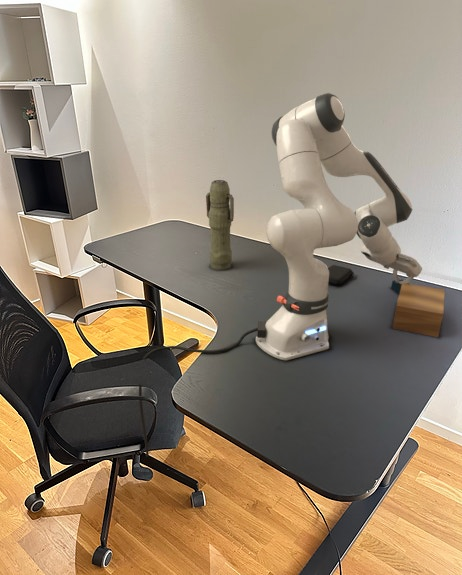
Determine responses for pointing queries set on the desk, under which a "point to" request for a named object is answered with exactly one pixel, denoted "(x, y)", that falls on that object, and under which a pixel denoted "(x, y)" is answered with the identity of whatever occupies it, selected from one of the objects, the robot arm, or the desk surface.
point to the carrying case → (339, 274)
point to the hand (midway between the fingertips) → (399, 271)
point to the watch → (399, 282)
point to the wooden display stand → (419, 309)
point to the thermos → (220, 224)
